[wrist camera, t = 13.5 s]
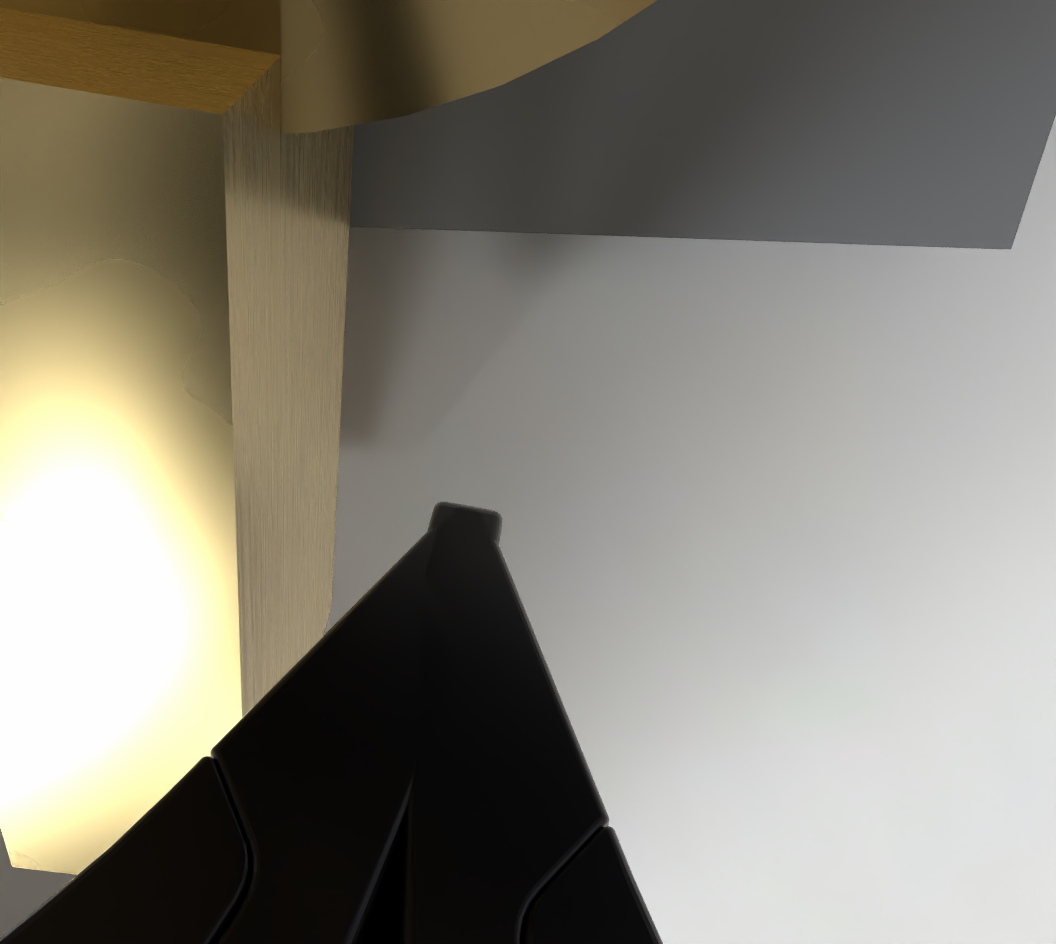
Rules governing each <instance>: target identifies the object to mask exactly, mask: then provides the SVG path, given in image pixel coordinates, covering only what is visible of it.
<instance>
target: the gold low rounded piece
mask: <svg viewBox="0 0 1056 944" xmlns="http://www.w3.org/2000/svg"><path fill="white" fill-rule="evenodd" d="M655 1H657V0H0V827H1V831H2V834H3V838H4V841H5V845H6V848H7V852H8V855H9V858H10V862H11V865H12V867H17V868H25V869H33V870H42V871H50V872H58V873H67V874H75V875H78V874H79V873H80V872H81V871H82V870H84V869H85V868H86V867H87V866H88V865H90V864H91V863H92V862H93V861H94V860H95V859H97V858H98V857H99V856H100V855H101V854H103V853H104V852H105V851H106V850H107V849H108V848H109V847H110V846H111V845H112V844H113V843H115V842H116V841H117V840H118V839H119V838H120V837H121V836H122V835H123V834H124V833H125V832H126V831H127V830H128V829H129V828H130V827H131V826H133V825H134V824H135V823H136V822H137V821H138V820H139V819H140V818H141V817H142V816H143V815H144V814H145V813H146V812H147V811H148V810H150V809H151V808H152V807H153V806H154V805H155V804H156V803H157V802H158V801H159V800H160V799H161V798H162V797H163V796H164V795H165V794H166V793H167V792H168V791H169V790H170V789H171V788H172V787H173V786H174V785H175V784H176V783H177V782H178V781H179V780H180V779H181V778H182V777H183V776H184V775H185V774H186V773H187V772H188V771H189V770H190V769H191V768H192V767H193V766H194V765H195V764H196V763H197V762H198V761H199V760H200V759H201V758H202V757H204V756H209V757H210V752H211V749H212V748H213V747H214V746H215V745H216V744H217V743H218V742H219V741H220V740H221V739H222V738H223V737H224V736H225V735H226V734H227V733H228V732H229V731H230V730H231V729H232V728H233V727H234V726H235V725H236V724H237V723H238V722H239V721H240V720H241V719H242V718H243V717H244V716H245V715H246V714H247V713H248V712H249V711H250V710H251V709H252V708H253V707H254V706H255V705H256V704H257V703H258V702H259V701H260V699H261V698H262V697H263V696H264V695H265V694H266V693H267V692H268V691H269V690H270V689H271V688H272V687H273V686H274V685H275V684H276V683H277V682H278V681H279V680H280V679H281V678H282V677H283V676H284V675H285V674H286V673H287V672H288V671H289V670H290V669H291V668H292V667H293V666H294V665H295V664H296V663H297V662H298V661H299V660H300V659H301V658H302V657H303V656H304V655H305V654H306V653H307V652H308V651H309V650H310V649H311V648H312V647H313V646H314V645H315V644H316V643H317V642H318V641H319V640H320V639H321V638H322V637H323V635H324V631H325V628H326V624H327V621H328V617H329V614H330V611H331V607H332V589H333V567H334V545H335V524H336V502H337V481H338V459H339V437H340V416H341V394H342V373H343V351H344V329H345V308H346V286H347V264H348V243H349V221H350V200H351V178H352V156H353V135H354V125H357V124H363V123H369V122H374V121H380V120H386V119H392V118H398V117H404V116H407V115H410V114H414V113H417V112H420V111H423V110H426V109H429V108H432V107H435V106H438V105H442V104H445V103H448V102H451V101H454V100H457V99H460V98H463V97H467V96H470V95H473V94H476V93H479V92H482V91H485V90H488V89H492V88H495V87H498V86H501V85H503V84H505V83H507V82H510V81H512V80H514V79H516V78H518V77H520V76H522V75H524V74H526V73H528V72H530V71H532V70H535V69H537V68H539V67H541V66H543V65H545V64H547V63H549V62H551V61H553V60H555V59H557V58H560V57H562V56H564V55H566V54H568V53H570V52H572V51H574V50H576V49H578V48H580V47H582V46H585V45H587V44H589V43H591V42H593V41H595V40H597V39H599V38H600V37H602V36H603V35H605V34H607V33H608V32H610V31H611V30H613V29H614V28H616V27H617V26H619V25H620V24H622V23H623V22H625V21H626V20H628V19H629V18H631V17H633V16H634V15H636V14H637V13H639V12H640V11H642V10H643V9H645V8H646V7H648V6H649V5H651V4H652V3H654V2H655Z"/></svg>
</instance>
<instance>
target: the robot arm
mask: <svg viewBox="0 0 1056 944" xmlns="http://www.w3.org/2000/svg"><path fill="white" fill-rule="evenodd" d="M501 527H502V517H501V515H500V514H499V513H498V512H496V511H492V510H487V509H481V508H476V507H471V506H466V505H460V504H455V503H450V502H439V503H437V504H436V505H435V507H434V509H433V512H432V516H431V520H430V523H429V527H428V530H427V533H426V534H425V535H424V536H423V537H422V538H421V539H420V540H419V541H418V542H417V543H416V544H415V545H414V546H413V547H412V548H411V549H410V550H409V551H408V552H407V553H406V554H405V555H404V556H403V557H402V558H401V559H400V560H399V561H398V562H397V563H396V564H395V565H394V566H393V567H392V568H391V569H390V570H389V571H388V572H387V573H386V574H385V575H384V576H383V577H382V578H381V579H380V580H379V581H378V582H377V583H376V584H375V585H374V586H373V587H372V588H371V589H370V590H369V591H368V592H367V593H366V594H365V595H364V596H363V597H362V598H361V599H360V600H359V601H358V602H357V603H356V604H355V605H354V606H353V607H352V608H351V609H350V610H349V611H348V612H347V613H346V614H345V615H344V616H343V617H342V618H341V619H340V620H339V621H338V622H337V623H336V624H335V625H334V626H333V627H332V628H331V629H330V630H329V631H328V632H327V633H326V634H325V635H324V636H323V637H322V638H321V639H320V640H319V641H318V642H317V643H316V644H315V645H314V646H313V647H312V648H311V649H310V650H309V651H308V652H307V653H306V654H305V655H304V656H303V657H302V658H301V659H300V660H299V661H298V662H297V663H296V664H295V665H294V666H293V667H292V668H291V669H290V670H289V671H288V672H287V673H286V674H285V675H284V676H283V677H282V678H281V679H280V680H279V681H278V682H277V683H276V684H275V685H274V686H273V687H272V688H271V689H270V690H269V691H268V692H267V693H266V694H265V695H264V696H263V697H262V698H261V699H260V701H259V702H258V703H257V704H256V705H255V706H254V707H253V708H252V709H251V710H250V711H249V712H248V713H247V714H246V715H245V716H244V717H243V718H242V719H241V720H240V721H239V722H238V723H237V724H236V725H235V726H234V727H233V728H232V729H231V730H230V731H229V732H228V733H227V734H226V735H225V736H224V737H223V738H222V739H221V740H220V741H219V742H218V743H217V744H216V745H215V746H214V747H213V748H212V749H211V752H210V757H209V756H204V757H202V758H201V759H200V760H199V761H198V762H197V763H196V764H195V765H194V766H193V767H192V768H191V769H190V770H189V771H188V772H187V773H186V774H185V775H184V776H183V777H182V778H181V779H180V780H179V781H178V782H177V783H176V784H175V785H174V786H173V787H172V788H171V789H170V790H169V791H168V792H167V793H166V794H165V795H164V796H163V797H162V798H161V799H160V800H159V801H158V802H157V803H156V804H155V805H154V806H153V807H152V808H151V809H150V810H148V811H147V812H146V813H145V814H144V815H143V816H142V817H141V818H140V819H139V820H138V821H137V822H136V823H135V824H134V825H133V826H131V827H130V828H129V829H128V830H127V831H126V832H125V833H124V834H123V835H122V836H121V837H120V838H119V839H118V840H117V841H116V842H115V843H113V844H112V845H111V846H110V847H109V848H108V849H107V850H106V851H105V852H104V853H103V854H101V855H100V856H99V857H98V858H97V859H95V860H94V861H93V862H92V863H91V864H90V865H88V866H87V867H86V868H85V869H84V870H82V871H81V872H80V873H79V874H78V875H76V876H75V877H74V878H73V879H72V880H71V881H69V882H68V883H67V884H66V885H65V886H63V887H62V888H61V889H60V890H59V891H58V892H56V893H55V894H54V895H53V896H52V897H50V898H49V899H48V900H47V901H46V902H44V903H43V904H42V905H41V906H40V907H39V908H37V909H36V910H35V911H34V912H33V913H31V914H30V915H29V916H28V917H27V918H25V919H24V920H23V921H22V922H20V923H19V924H18V925H17V926H15V927H14V928H13V929H12V930H10V931H9V932H8V933H7V934H5V935H4V936H3V937H2V938H0V944H663V942H662V940H661V938H660V936H659V933H658V931H657V929H656V927H655V924H654V922H653V920H652V918H651V915H650V913H649V911H648V909H647V906H646V904H645V902H644V900H643V897H642V895H641V893H640V891H639V888H638V886H637V884H636V882H635V879H634V877H633V875H632V872H631V870H630V867H629V865H628V862H627V860H626V857H625V855H624V853H623V850H622V848H621V845H620V843H619V840H618V838H617V835H616V833H615V830H614V829H613V828H612V827H610V826H608V824H609V817H608V814H607V812H606V809H605V807H604V804H603V802H602V799H601V797H600V795H599V792H598V790H597V787H596V785H595V782H594V780H593V777H592V775H591V772H590V770H589V767H588V765H587V762H586V760H585V757H584V755H583V752H582V750H581V748H580V745H579V743H578V740H577V738H576V735H575V733H574V730H573V728H572V725H571V723H570V720H569V718H568V715H567V713H566V710H565V708H564V706H563V703H562V701H561V698H560V696H559V693H558V691H557V688H556V686H555V683H554V681H553V678H552V676H551V673H550V671H549V668H548V666H547V664H546V661H545V659H544V656H543V654H542V651H541V649H540V646H539V644H538V641H537V639H536V636H535V634H534V631H533V629H532V626H531V624H530V621H529V619H528V617H527V614H526V612H525V609H524V607H523V604H522V602H521V599H520V597H519V594H518V592H517V589H516V587H515V584H514V582H513V579H512V577H511V575H510V572H509V570H508V567H507V565H506V562H505V560H504V557H503V555H502V552H501V550H500V547H499V541H500V534H501Z"/></svg>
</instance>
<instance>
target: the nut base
mask: <svg viewBox="0 0 1056 944" xmlns="http://www.w3.org/2000/svg"><path fill="white" fill-rule="evenodd" d="M1055 115H1056V0H657V1H655V2H654V3H652V4H651V5H649V6H648V7H646V8H645V9H643V10H642V11H640V12H639V13H637V14H636V15H634V16H633V17H631V18H629V19H628V20H626V21H625V22H623V23H622V24H620V25H619V26H617V27H616V28H614V29H613V30H611V31H610V32H608V33H607V34H605V35H603V36H602V37H600V38H599V39H597V40H595V41H593V42H591V43H589V44H587V45H585V46H582V47H580V48H578V49H576V50H574V51H572V52H570V53H568V54H566V55H564V56H562V57H560V58H557V59H555V60H553V61H551V62H549V63H547V64H545V65H543V66H541V67H539V68H537V69H535V70H532V71H530V72H528V73H526V74H524V75H522V76H520V77H518V78H516V79H514V80H512V81H510V82H507V83H505V84H503V85H501V86H498V87H495V88H492V89H488V90H485V91H482V92H479V93H476V94H473V95H470V96H467V97H463V98H460V99H457V100H454V101H451V102H448V103H445V104H442V105H438V106H435V107H432V108H429V109H426V110H423V111H420V112H417V113H414V114H410V115H407V116H404V117H398V118H392V119H386V120H380V121H374V122H369V123H363V124H357V125H354V135H353V156H352V178H351V200H350V221H349V227H378V228H407V229H436V230H464V231H493V232H522V233H551V234H580V235H609V236H637V237H666V238H695V239H724V240H753V241H782V242H810V243H839V244H868V245H897V246H926V247H955V248H983V249H1011V247H1012V244H1013V241H1014V238H1015V235H1016V232H1017V229H1018V226H1019V223H1020V220H1021V217H1022V214H1023V211H1024V208H1025V205H1026V202H1027V199H1028V196H1029V193H1030V190H1031V187H1032V184H1033V181H1034V178H1035V175H1036V172H1037V169H1038V166H1039V163H1040V160H1041V157H1042V154H1043V151H1044V148H1045V145H1046V142H1047V139H1048V136H1049V133H1050V130H1051V127H1052V124H1053V121H1054V118H1055Z"/></svg>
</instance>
